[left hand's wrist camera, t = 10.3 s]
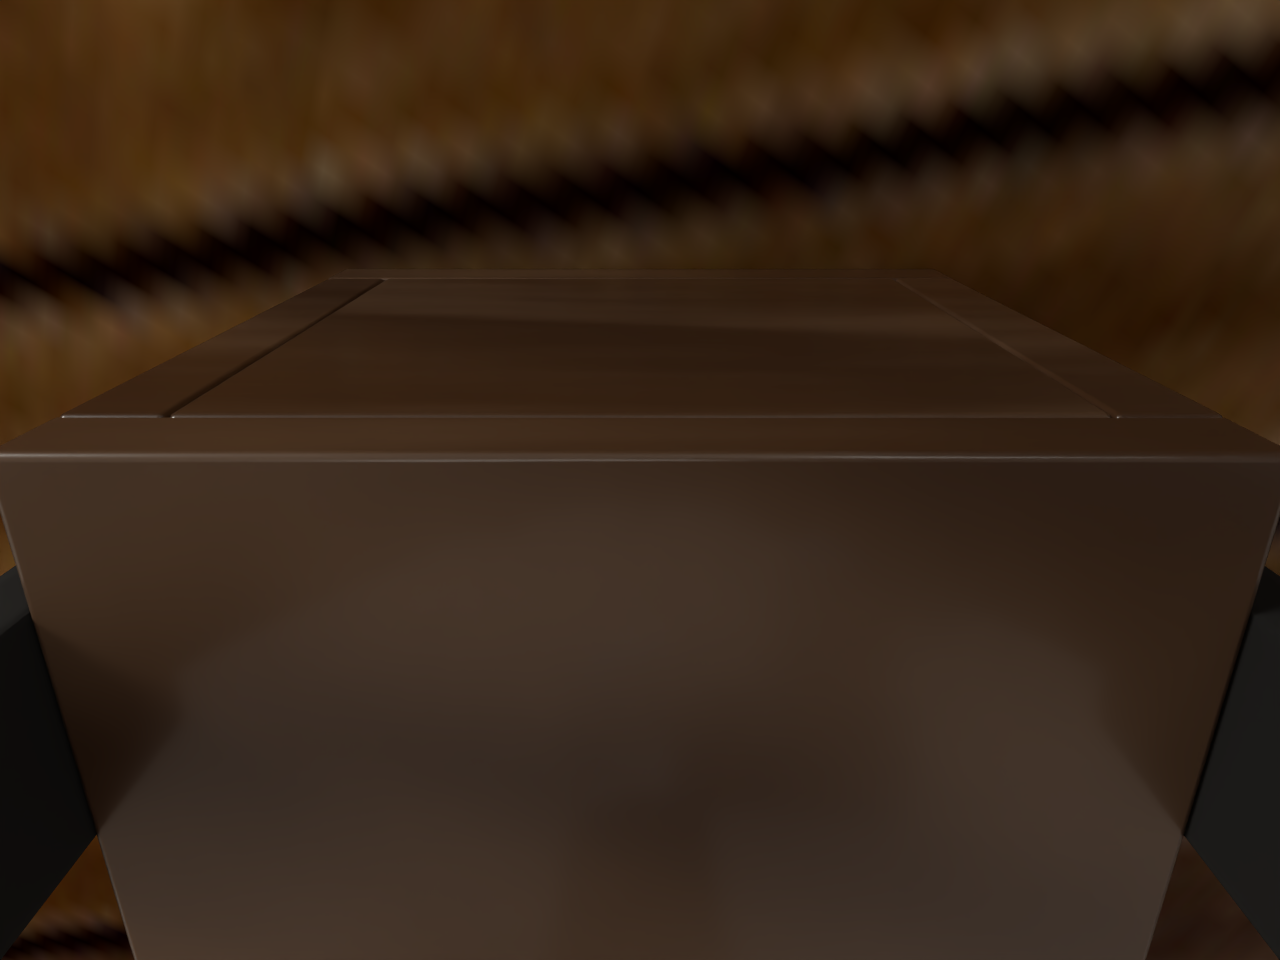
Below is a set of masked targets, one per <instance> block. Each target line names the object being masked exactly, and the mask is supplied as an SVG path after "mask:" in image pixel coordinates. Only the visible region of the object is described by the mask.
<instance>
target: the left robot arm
mask: <svg viewBox="0 0 1280 960" xmlns="http://www.w3.org/2000/svg"><path fill="white" fill-rule="evenodd" d="M96 835H97V833H96V830H95V826H94V823H93V820H92V816H91V813H90V810H89V806H88V803H87V800H86V796H85V793H84V790H83V786H82V783H81V780H80V776H79V773H78V770H77V766H76V763H75V760H74V756H73V753H72V750H71V746H70V743H69V740H68V736H67V733H66V730H65V726H64V723H63V720H62V716H61V713H60V710H59V707H58V703H57V700H56V697H55V693H54V690H53V687H52V683H51V680H50V677H49V673H48V670H47V667H46V663H45V660H44V657H43V653H42V650H41V647H40V643H39V640H38V637H37V633H36V630H35V627H34V623H33V620H32V617H31V613H30V610H29V607H28V603H27V600H26V597H25V593H24V590H23V587H22V583H21V580H20V577H19V573H18V570H17V567H16V566H14V567H13V568H12V569H10V570H9V571H7V572H6V573H4V574H3V575H2V576H0V960H1V958H2V957H3V956H4V955H5V953H6V952H7V951H8V949H9V948H10V947H11V945H12V944H13V943H14V942H15V940H16V939H17V938H18V936H19V935H20V934H21V932H22V931H23V930H24V928H25V927H26V926H27V925H28V923H29V922H30V921H31V919H32V918H33V917H34V915H35V914H36V913H37V912H38V910H39V909H40V908H41V906H42V905H43V904H44V902H45V901H46V900H47V898H48V897H49V896H50V895H51V893H52V892H53V891H54V889H55V888H56V887H57V885H58V884H59V883H60V882H61V880H62V879H63V878H64V876H65V875H66V874H67V872H68V871H69V870H70V868H71V867H72V866H73V865H74V863H75V862H76V861H77V859H78V858H79V857H80V855H81V854H82V853H83V852H84V850H85V849H86V848H87V846H88V845H89V844H90V842H91V841H92V840H93V838H94V837H95V836H96ZM1184 836H1185V837H1186V838H1187V840H1188V841H1189V842H1190V844H1191V845H1192V846H1193V848H1194V849H1195V850H1196V851H1197V853H1198V854H1199V855H1200V857H1201V858H1202V859H1203V861H1204V862H1205V863H1206V865H1207V866H1208V867H1209V868H1210V870H1211V871H1212V872H1213V874H1214V875H1215V876H1216V878H1217V879H1218V880H1219V881H1220V883H1221V884H1222V885H1223V887H1224V888H1225V889H1226V891H1227V892H1228V893H1229V895H1230V896H1231V897H1232V898H1233V900H1234V901H1235V902H1236V904H1237V905H1238V906H1239V908H1240V909H1241V910H1242V911H1243V913H1244V914H1245V915H1246V917H1247V918H1248V919H1249V921H1250V922H1251V923H1252V925H1253V926H1254V927H1255V928H1256V930H1257V931H1258V932H1259V934H1260V935H1261V936H1262V938H1263V939H1264V940H1265V942H1266V943H1267V944H1268V945H1269V947H1270V948H1271V949H1272V951H1273V952H1274V953H1275V955H1276V956H1277V957H1278V958H1279V960H1280V576H1278V575H1277V574H1276V573H1274V572H1273V571H1271V570H1270V569H1268V568H1267V567H1266V566H1265V567H1264V570H1263V573H1262V577H1261V580H1260V583H1259V586H1258V590H1257V593H1256V596H1255V600H1254V603H1253V606H1252V610H1251V613H1250V616H1249V620H1248V623H1247V626H1246V630H1245V633H1244V636H1243V640H1242V643H1241V646H1240V649H1239V653H1238V656H1237V659H1236V663H1235V666H1234V669H1233V673H1232V676H1231V679H1230V683H1229V686H1228V689H1227V693H1226V696H1225V699H1224V703H1223V706H1222V709H1221V712H1220V716H1219V719H1218V722H1217V726H1216V729H1215V732H1214V736H1213V739H1212V742H1211V746H1210V749H1209V752H1208V756H1207V759H1206V762H1205V765H1204V769H1203V772H1202V775H1201V779H1200V782H1199V785H1198V789H1197V792H1196V795H1195V799H1194V802H1193V805H1192V809H1191V812H1190V815H1189V819H1188V822H1187V825H1186V828H1185V832H1184Z"/></svg>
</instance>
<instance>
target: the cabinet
mask: <svg viewBox="0 0 1280 960" xmlns="http://www.w3.org/2000/svg"><path fill="white" fill-rule="evenodd" d="M0 514H1V517H2V520H3V524H4V527H5V530H6V534H7V537H8V540H9V544H10V547H11V550H12V554H13V557H14V560H15V564H16V567H17V570H18V573H19V577H20V580H21V583H22V587H23V590H24V593H25V597H26V600H27V603H28V607H29V610H30V613H31V617H32V620H33V623H34V627H35V630H36V633H37V637H38V640H39V643H40V647H41V650H42V653H43V657H44V660H45V663H46V667H47V670H48V673H49V677H50V680H51V683H52V687H53V690H54V693H55V697H56V700H57V703H58V707H59V710H60V713H61V716H62V720H63V723H64V726H65V730H66V733H67V736H68V740H69V743H70V746H71V750H72V753H73V756H74V760H75V763H76V766H77V770H78V773H79V776H80V780H81V783H82V786H83V790H84V793H85V796H86V800H87V803H88V806H89V810H90V813H91V816H92V820H93V823H94V826H95V830H96V833H97V836H98V840H99V843H100V846H101V849H102V853H103V856H104V859H105V863H106V866H107V869H108V873H109V876H110V879H111V883H112V886H113V889H114V893H115V896H116V899H117V903H118V906H119V909H120V913H121V916H122V919H123V923H124V926H125V929H126V933H127V936H128V939H129V943H130V946H131V949H132V953H133V956H134V959H135V960H1146V958H1147V954H1148V951H1149V948H1150V944H1151V941H1152V938H1153V935H1154V931H1155V928H1156V925H1157V921H1158V918H1159V915H1160V911H1161V908H1162V905H1163V901H1164V898H1165V895H1166V891H1167V888H1168V885H1169V882H1170V878H1171V875H1172V872H1173V868H1174V865H1175V862H1176V858H1177V855H1178V852H1179V848H1180V845H1181V842H1182V838H1183V835H1184V832H1185V828H1186V825H1187V822H1188V819H1189V815H1190V812H1191V809H1192V805H1193V802H1194V799H1195V795H1196V792H1197V789H1198V785H1199V782H1200V779H1201V775H1202V772H1203V769H1204V765H1205V762H1206V759H1207V756H1208V752H1209V749H1210V746H1211V742H1212V739H1213V736H1214V732H1215V729H1216V726H1217V722H1218V719H1219V716H1220V712H1221V709H1222V706H1223V703H1224V699H1225V696H1226V693H1227V689H1228V686H1229V683H1230V679H1231V676H1232V673H1233V669H1234V666H1235V663H1236V659H1237V656H1238V653H1239V649H1240V646H1241V643H1242V640H1243V636H1244V633H1245V630H1246V626H1247V623H1248V620H1249V616H1250V613H1251V610H1252V606H1253V603H1254V600H1255V596H1256V593H1257V590H1258V586H1259V583H1260V580H1261V577H1262V573H1263V570H1264V567H1265V563H1266V560H1267V557H1268V553H1269V550H1270V547H1271V543H1272V540H1273V537H1274V533H1275V530H1276V527H1277V524H1278V520H1279V517H1280V446H1279V445H1277V444H1275V443H1273V442H1271V441H1269V440H1267V439H1265V438H1263V437H1261V436H1259V435H1257V434H1255V433H1253V432H1251V431H1250V430H1248V429H1246V428H1244V427H1242V426H1240V425H1238V424H1236V423H1234V422H1232V421H1230V420H1228V419H1225V418H1222V416H1221V415H1220V414H1218V413H1216V412H1214V411H1212V410H1210V409H1208V408H1206V407H1204V406H1202V405H1200V404H1199V403H1197V402H1195V401H1193V400H1191V399H1189V398H1187V397H1185V396H1183V395H1181V394H1179V393H1177V392H1175V391H1173V390H1171V389H1169V388H1167V387H1165V386H1163V385H1161V384H1159V383H1157V382H1155V381H1153V380H1151V379H1149V378H1147V377H1145V376H1143V375H1141V374H1139V373H1137V372H1135V371H1133V370H1131V369H1129V368H1127V367H1125V366H1123V365H1121V364H1119V363H1117V362H1115V361H1113V360H1111V359H1109V358H1107V357H1106V356H1104V355H1102V354H1100V353H1098V352H1096V351H1094V350H1092V349H1090V348H1088V347H1086V346H1084V345H1082V344H1080V343H1078V342H1076V341H1074V340H1072V339H1070V338H1068V337H1066V336H1064V335H1062V334H1060V333H1058V332H1056V331H1054V330H1052V329H1050V328H1048V327H1046V326H1044V325H1042V324H1040V323H1038V322H1036V321H1034V320H1032V319H1030V318H1028V317H1026V316H1024V315H1022V314H1020V313H1018V312H1016V311H1014V310H1013V309H1011V308H1009V307H1007V306H1005V305H1003V304H1001V303H999V302H997V301H995V300H993V299H991V298H989V297H987V296H985V295H983V294H981V293H979V292H977V291H975V290H973V289H971V288H969V287H967V286H965V285H963V284H961V283H959V282H957V281H955V280H953V279H952V278H950V277H948V276H946V275H944V274H942V273H940V272H938V271H936V270H934V269H346V270H344V271H342V272H340V273H338V274H336V275H334V276H332V277H330V278H329V279H328V280H326V281H324V282H322V283H320V284H318V285H316V286H314V287H312V288H310V289H308V290H306V291H304V292H302V293H300V294H298V295H296V296H294V297H293V298H291V299H289V300H287V301H285V302H283V303H281V304H279V305H277V306H275V307H273V308H271V309H269V310H267V311H265V312H263V313H261V314H259V315H257V316H255V317H253V318H251V319H249V320H247V321H245V322H243V323H241V324H239V325H237V326H235V327H233V328H231V329H229V330H227V331H225V332H223V333H221V334H220V335H218V336H216V337H214V338H212V339H210V340H208V341H206V342H204V343H202V344H200V345H198V346H196V347H194V348H192V349H190V350H188V351H186V352H184V353H182V354H180V355H178V356H176V357H174V358H172V359H170V360H168V361H166V362H164V363H162V364H160V365H158V366H156V367H154V368H152V369H150V370H149V371H147V372H145V373H143V374H141V375H139V376H137V377H135V378H133V379H131V380H129V381H127V382H125V383H123V384H121V385H119V386H117V387H115V388H113V389H111V390H109V391H107V392H105V393H103V394H101V395H99V396H97V397H95V398H93V399H91V400H89V401H87V402H85V403H83V404H81V405H79V406H77V407H76V408H74V409H72V410H70V411H68V412H66V413H64V414H62V415H61V417H60V418H55V419H53V420H50V421H48V422H47V423H45V424H43V425H41V426H39V427H37V428H35V429H33V430H31V431H29V432H27V433H25V434H23V435H21V436H19V437H17V438H15V439H13V440H11V441H9V442H7V443H5V444H3V445H1V446H0Z"/></svg>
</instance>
